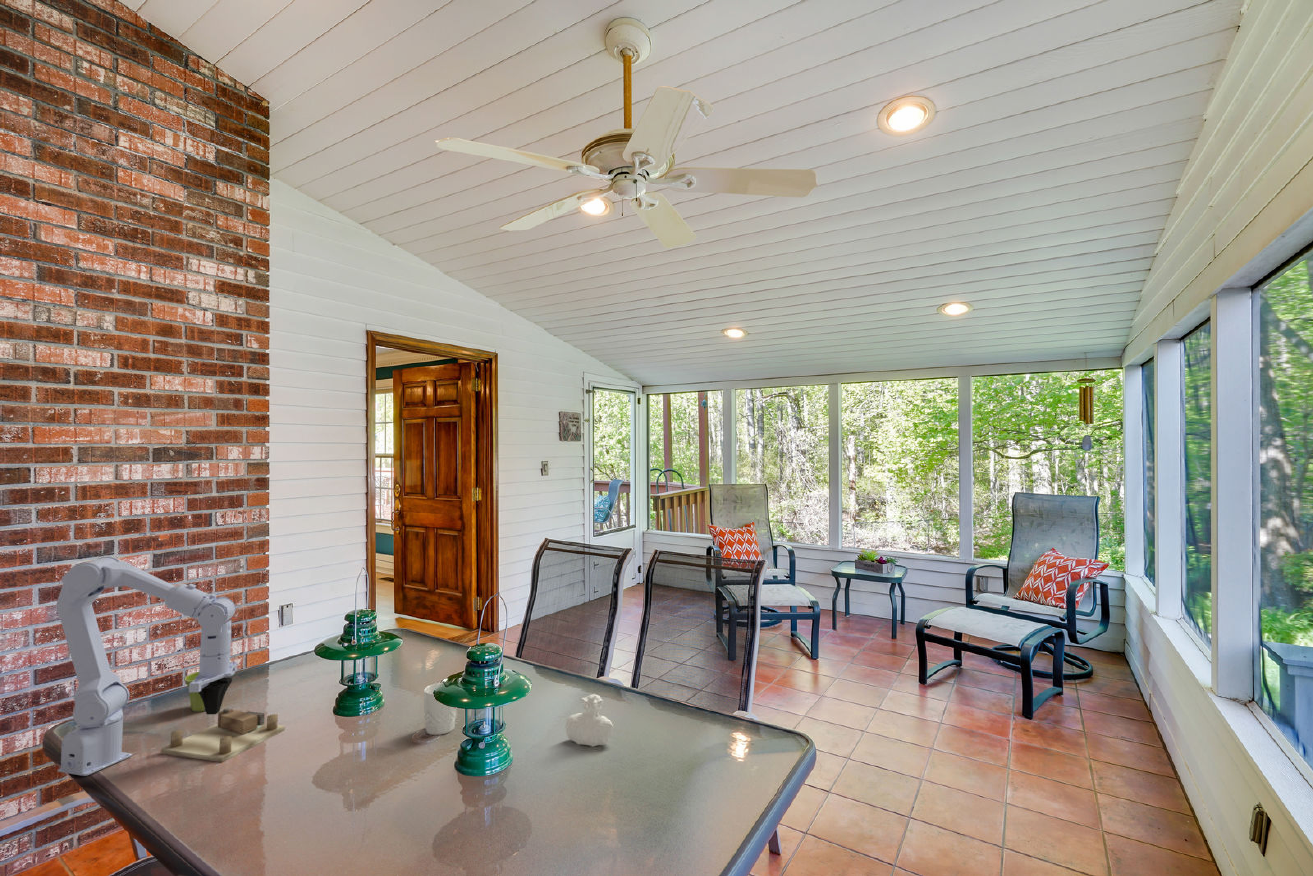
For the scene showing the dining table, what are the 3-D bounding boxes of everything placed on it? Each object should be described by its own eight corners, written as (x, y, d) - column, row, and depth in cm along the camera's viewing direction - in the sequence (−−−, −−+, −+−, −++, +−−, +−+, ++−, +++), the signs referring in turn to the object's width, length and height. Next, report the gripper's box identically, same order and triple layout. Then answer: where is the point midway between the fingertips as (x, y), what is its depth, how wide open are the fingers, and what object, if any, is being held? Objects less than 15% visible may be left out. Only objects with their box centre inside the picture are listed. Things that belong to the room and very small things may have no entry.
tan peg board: (222, 762, 136) (223, 743, 136) (160, 753, 140) (161, 735, 140) (285, 729, 153) (285, 713, 153) (228, 722, 156) (228, 706, 157)
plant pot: (210, 715, 161) (211, 681, 162) (174, 714, 161) (175, 680, 162) (235, 701, 171) (236, 669, 171) (201, 700, 171) (202, 668, 171)
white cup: (462, 723, 157) (462, 683, 158) (448, 737, 149) (449, 694, 150) (432, 721, 158) (432, 682, 158) (417, 735, 150) (418, 693, 150)
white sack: (613, 753, 146) (624, 704, 153) (604, 744, 141) (615, 693, 148) (567, 746, 150) (579, 698, 157) (556, 737, 144) (569, 688, 151)
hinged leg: (214, 726, 151) (214, 711, 152) (228, 720, 155) (229, 706, 155) (242, 734, 147) (242, 718, 147) (257, 728, 150) (257, 713, 151)
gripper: (214, 662, 136) (211, 726, 135) (251, 643, 150) (249, 700, 150) (180, 663, 135) (177, 727, 135) (220, 643, 150) (218, 701, 149)
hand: (212, 713), depth 142 cm, fingers closed
